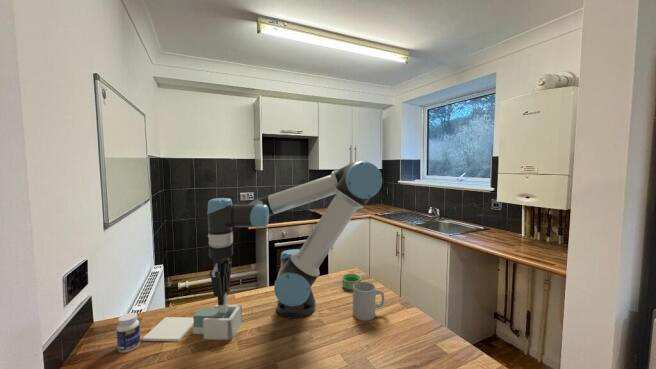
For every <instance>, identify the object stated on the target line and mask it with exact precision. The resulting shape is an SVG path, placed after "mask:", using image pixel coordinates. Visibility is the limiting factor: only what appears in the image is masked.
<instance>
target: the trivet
mask: <svg viewBox="0 0 656 369" xmlns="http://www.w3.org/2000/svg"><path fill="white" fill-rule="evenodd" d="M193 326H194V317H193V316H192V317H180V316H179V317H178V316H174V317H173V316H172V317H171V316H165V317H164V318H163V319H162V320H161V321H160V322H158V324H157V325H155V327H153V328H152V329H151V330H150V331H149V332H148V333H147V334H145V335H144V336H143V337H142V341H144V342H149V341H150V342H181V340H182V339H183V338H184V336H185V335H186V334H187V333H188V332H189V330H190V329H191V328H193Z"/></svg>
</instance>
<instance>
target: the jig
mask: <svg viewBox="0 0 656 369" xmlns="http://www.w3.org/2000/svg"><path fill="white" fill-rule="evenodd" d="M227 306H228V309H229V318H204V320H203V327H194V325H193V326H192V335H203V340H226V341H228V340H230V341H231V340H233V339H234V336H235V335H236V334H237V332H238V329H239V328H240V327H241V325H242V323H243V313H242V312H243V311H242V304H227ZM214 308H218V304H215V305H214Z"/></svg>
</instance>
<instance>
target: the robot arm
mask: <svg viewBox="0 0 656 369" xmlns="http://www.w3.org/2000/svg"><path fill="white" fill-rule="evenodd" d="M382 184H383V177H382V172H381V171H380V169H379V168H378V166H377V165H375V164H374V163H372V162H370V161H367V160H359V161H354V162H351V163H348V164H347V165H345V166H343V167H341V168H339V169H335V170H333V171H332V172H331V173H330V174H329V175H326V176H323V177H320V178H316V179H314V180H311V181H309V182H306V183H302V184H299V185H296V186H292V187H290V188H287V189H285V190H282V191H278V192H275V193H272V194H269V195H267V196H263V197H258V198H256V199H253V200H252V201H251V202H249V203H248V204H234V203H233V201H232V199H231V198H229V197H228V198H227V197H218V198H217V197H216V198H211V199H210V200H208V202H207V212H206V213H207V231H208V235H207V238H208V245H209V247H208V257H209V258H210V259H212V260H213V265H212V268H213V270H212V271H209V276H210V279H211V280H210V281H211V286H212V290H213V291H212V292H213V297H217V305H218V313H226V312H227V311H228V306H227V305H228V293H229V292H231V289H230V287H231V274H232V273H231V272H232V263H233V262H232V261H233V258H231V257H232V256H233V255H234V244H233V243H234V235H233V232H234V231H233V228H255V229H256V228H264V227H267V226H268V225H269V222H270V221H269V220H270V217H271V216H274V215H276V214H279V213H282V212H285V211H287V210H291V209H294V208H297V207H301V206H303V205H307V204H309V203H312V202H316V201H318V200H321V199H325V198H327V197H330V196H333V195H334V197H333V198H332V200H331V202H330V203H329V205H328V206H327V207H326V209H325V211H324V213H323V214H322V216H321V217H320V218H319V220H318V221H317V223H316V225H315V226H314V228H313V229H312V231H311V232H310V234H309V236H308V237H307V238H306V240H305V242H304V243H303V245H302V246H301V248H296V249H295V248H294V249H287V250H283V251H282V252H281V253H280V268H279V270H278V273H277V277H276V279H275V281H274V288H273V289H274V295H275V297H276V298H277V299H276V300H277V302H276V303H277V304H276V310H277V313H278V314H279V315H280V316H282V317H284V318H288V319H299V318H304V317H307V316H310V315H311V314H313V313H314V311H315V310H316V299H315V296H314V293H313V292H314V291H313V290H312V287H313V285H314V284H315V282H316V281H317V279H318V278H319V276H320V273H321V272H320V269H319V268H320V266H321V265H322V263H323V262H324V260H326V259H325V258H326V257H327V256H328V254H329V252H330V251H331V250H332V248H333V246H334V245H335V244H336V242H337V241H338V239H339V238H340V236H341V234H342V233H343V232H344V230H345V229H346V227H347V226H348V224H349V222H350V220H352V218H353V216H354V215H355V213H356V212H357V210H359V209H363V208H365V206H366V205H367V204H368V202H369V201H370V200H371V198H372V197H375V196H376V195H377V194H378V193H379V191H380V190H381V188H382Z"/></svg>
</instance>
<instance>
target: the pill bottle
mask: <svg viewBox="0 0 656 369" xmlns="http://www.w3.org/2000/svg"><path fill="white" fill-rule="evenodd" d="M117 324H118V325H117V326H116V343H117V344H116V345H117V351H118V353H124V354H125V353H128V352H132V351H134V350H135V349H137V348H138V347H139V346H140V345H141V332H140V331H141V330H140V329H141V326H140V325H141V324H140V321H139V320H138V314H137V313H136V312H129V313H126V314H125V313H124V314H122V315H120V316H119V318H118V319H117Z"/></svg>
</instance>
